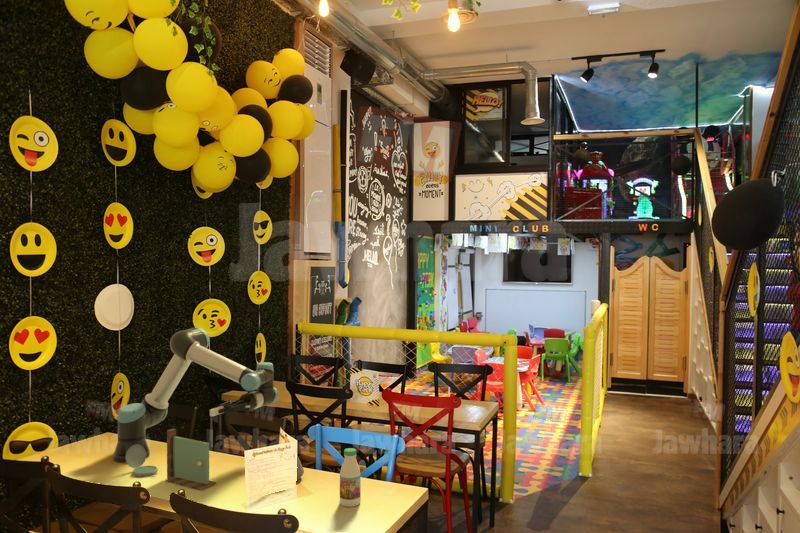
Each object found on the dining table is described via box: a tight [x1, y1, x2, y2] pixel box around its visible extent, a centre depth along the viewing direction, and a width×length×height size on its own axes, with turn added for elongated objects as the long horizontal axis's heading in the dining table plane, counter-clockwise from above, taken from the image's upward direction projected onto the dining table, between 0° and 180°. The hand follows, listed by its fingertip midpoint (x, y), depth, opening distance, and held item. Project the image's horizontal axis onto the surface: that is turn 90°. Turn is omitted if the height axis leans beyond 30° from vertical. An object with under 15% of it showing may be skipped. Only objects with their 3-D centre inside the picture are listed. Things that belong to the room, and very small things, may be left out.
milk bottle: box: [339, 447, 362, 508], centre depth 224 cm, size 8×8×20 cm
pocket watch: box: [125, 445, 159, 478], centre depth 256 cm, size 10×11×15 cm
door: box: [173, 435, 210, 484], centre depth 244 cm, size 19×4×16 cm, turn 61°
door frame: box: [165, 428, 218, 491], centre depth 245 cm, size 22×8×20 cm, turn 61°
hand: (211, 412), depth 250 cm, fingers closed
